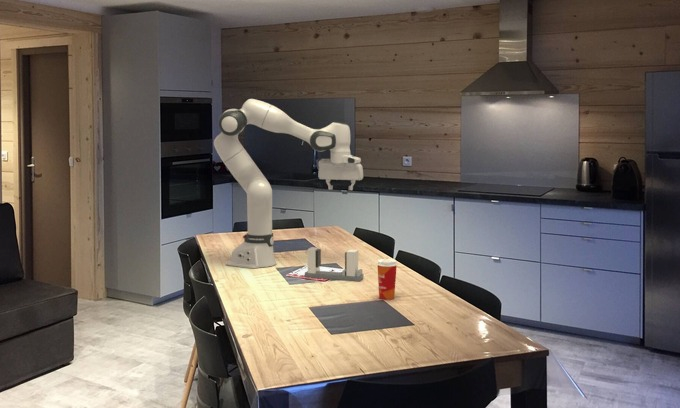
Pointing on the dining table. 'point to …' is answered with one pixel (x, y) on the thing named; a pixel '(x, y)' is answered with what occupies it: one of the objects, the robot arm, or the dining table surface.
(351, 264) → the block
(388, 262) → the paper cup
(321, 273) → the rail
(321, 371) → the dining table surface
